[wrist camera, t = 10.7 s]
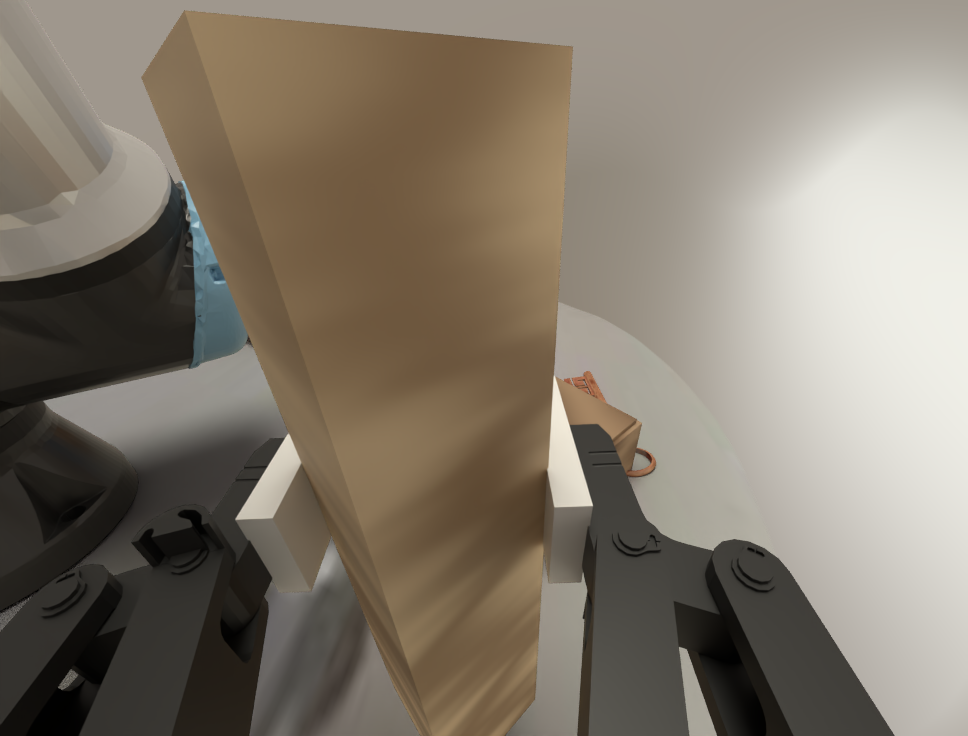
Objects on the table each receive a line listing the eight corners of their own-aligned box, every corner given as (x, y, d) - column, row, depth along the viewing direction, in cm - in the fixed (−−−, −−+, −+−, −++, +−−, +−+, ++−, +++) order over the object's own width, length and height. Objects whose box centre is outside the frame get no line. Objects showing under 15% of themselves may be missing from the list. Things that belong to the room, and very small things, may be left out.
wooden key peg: (453, 797, 13) (184, 9, 3) (394, 688, 16) (140, 77, 5) (534, 699, 15) (572, 46, 5) (471, 617, 18) (402, 81, 7)
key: (553, 381, 44) (590, 485, 32) (553, 375, 44) (590, 477, 31) (604, 374, 44) (662, 476, 32) (604, 368, 44) (663, 468, 31)
